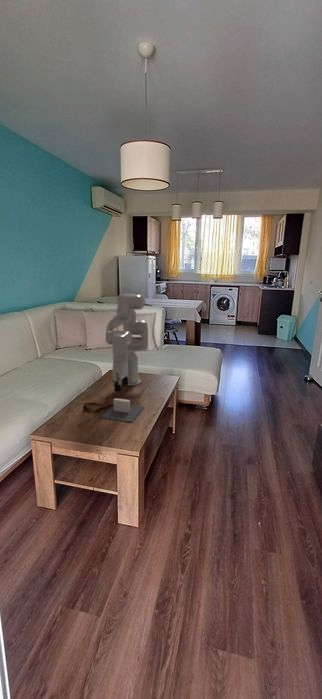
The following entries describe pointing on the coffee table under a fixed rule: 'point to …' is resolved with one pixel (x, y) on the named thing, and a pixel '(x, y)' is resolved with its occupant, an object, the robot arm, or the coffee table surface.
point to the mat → (123, 414)
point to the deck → (121, 405)
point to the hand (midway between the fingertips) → (121, 387)
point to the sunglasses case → (98, 405)
